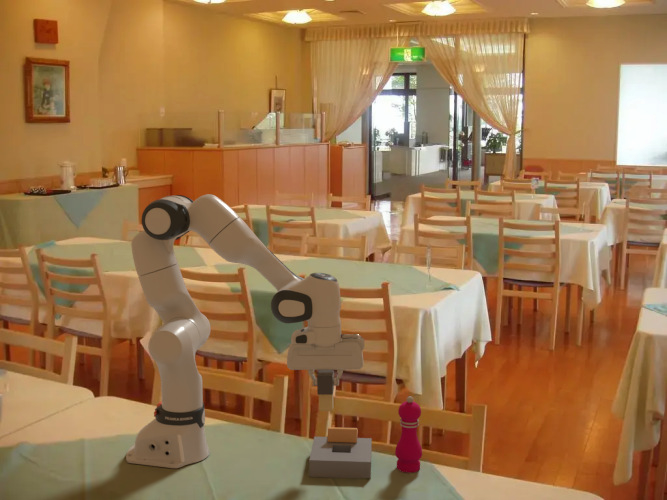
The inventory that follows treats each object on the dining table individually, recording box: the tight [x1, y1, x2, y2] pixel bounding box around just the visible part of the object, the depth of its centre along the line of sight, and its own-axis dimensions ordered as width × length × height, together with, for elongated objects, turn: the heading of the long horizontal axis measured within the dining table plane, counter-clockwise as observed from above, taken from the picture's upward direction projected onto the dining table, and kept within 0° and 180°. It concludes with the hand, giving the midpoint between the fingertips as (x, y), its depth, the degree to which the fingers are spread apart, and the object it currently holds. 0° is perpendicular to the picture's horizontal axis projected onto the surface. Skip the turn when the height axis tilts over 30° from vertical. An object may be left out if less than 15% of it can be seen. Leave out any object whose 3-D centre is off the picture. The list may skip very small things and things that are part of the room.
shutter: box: [327, 426, 359, 443], centre depth 226 cm, size 8×8×4 cm
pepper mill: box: [394, 395, 423, 474], centre depth 216 cm, size 7×7×20 cm
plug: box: [316, 370, 335, 412], centre depth 216 cm, size 4×6×10 cm, turn 177°
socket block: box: [308, 436, 373, 480], centre depth 218 cm, size 16×16×5 cm
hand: (325, 385), depth 215 cm, fingers closed on plug, 4 cm apart
